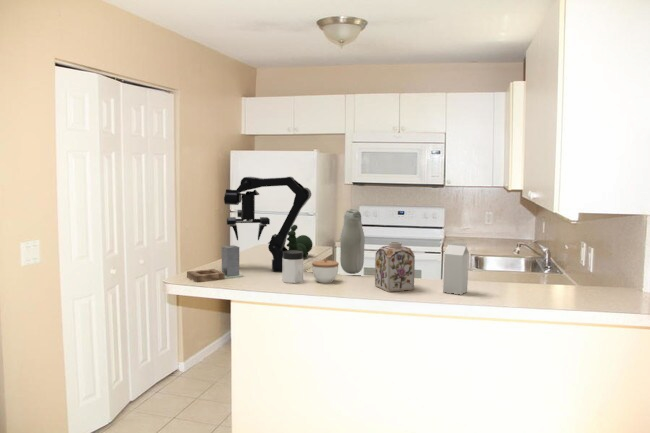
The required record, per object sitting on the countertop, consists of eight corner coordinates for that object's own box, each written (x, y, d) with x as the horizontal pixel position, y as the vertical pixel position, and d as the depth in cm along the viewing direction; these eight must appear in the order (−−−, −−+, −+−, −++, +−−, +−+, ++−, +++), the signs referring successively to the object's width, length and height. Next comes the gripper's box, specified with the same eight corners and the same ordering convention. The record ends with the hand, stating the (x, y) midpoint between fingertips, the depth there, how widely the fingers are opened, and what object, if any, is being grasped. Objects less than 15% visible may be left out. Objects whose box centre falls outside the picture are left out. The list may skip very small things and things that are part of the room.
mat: (235, 273, 250) (235, 272, 250) (243, 276, 244) (243, 275, 244) (217, 274, 246) (217, 274, 246) (225, 278, 239) (225, 277, 239)
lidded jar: (307, 282, 234) (307, 259, 233) (318, 277, 244) (319, 255, 243) (331, 285, 230) (331, 261, 229) (342, 280, 239) (342, 257, 238)
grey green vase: (367, 273, 255) (369, 209, 252) (352, 276, 247) (354, 210, 245) (350, 270, 261) (352, 208, 259) (335, 273, 254) (336, 209, 251)
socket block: (214, 274, 247) (214, 268, 246) (224, 279, 237) (224, 273, 237) (186, 277, 240) (186, 271, 240) (196, 282, 231) (196, 276, 231)
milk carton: (461, 295, 216) (463, 244, 214) (442, 292, 219) (444, 242, 218) (467, 291, 222) (469, 242, 220) (449, 289, 225) (451, 240, 224)
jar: (290, 284, 230) (291, 254, 229) (277, 280, 236) (278, 251, 235) (307, 281, 236) (308, 252, 235) (294, 278, 242) (294, 249, 241)
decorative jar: (400, 284, 234) (401, 239, 232) (414, 290, 223) (416, 243, 221) (373, 286, 229) (374, 240, 228) (387, 292, 218) (388, 245, 217)
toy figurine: (300, 266, 278) (317, 253, 302) (299, 227, 275) (316, 218, 298) (282, 264, 281) (299, 252, 304) (281, 226, 278) (299, 217, 301)
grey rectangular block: (233, 273, 248) (233, 245, 247) (239, 275, 244) (239, 247, 243) (221, 274, 245) (221, 246, 244) (227, 276, 241) (227, 248, 240)
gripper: (267, 203, 267) (267, 237, 269) (226, 203, 263) (226, 238, 265) (270, 205, 256) (269, 240, 258) (227, 205, 252) (227, 241, 254)
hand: (247, 240), depth 259 cm, fingers open, 9 cm apart
